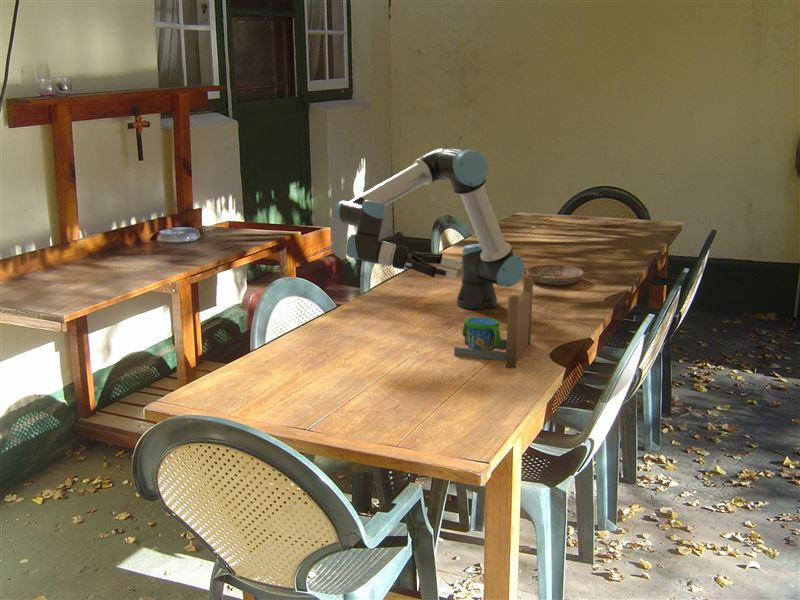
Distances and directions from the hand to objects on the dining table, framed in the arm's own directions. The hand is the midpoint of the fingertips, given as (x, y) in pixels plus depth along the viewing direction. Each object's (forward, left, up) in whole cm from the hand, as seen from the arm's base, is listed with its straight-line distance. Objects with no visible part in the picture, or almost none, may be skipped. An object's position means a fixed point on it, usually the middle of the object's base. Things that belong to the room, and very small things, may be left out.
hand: (458, 270), depth 297 cm
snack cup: (+7, +9, -25) cm, 27 cm away
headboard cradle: (+5, +12, -25) cm, 28 cm away
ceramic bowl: (-94, +17, -25) cm, 99 cm away
